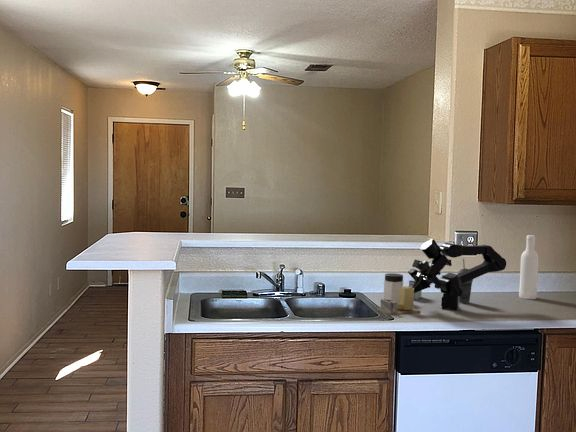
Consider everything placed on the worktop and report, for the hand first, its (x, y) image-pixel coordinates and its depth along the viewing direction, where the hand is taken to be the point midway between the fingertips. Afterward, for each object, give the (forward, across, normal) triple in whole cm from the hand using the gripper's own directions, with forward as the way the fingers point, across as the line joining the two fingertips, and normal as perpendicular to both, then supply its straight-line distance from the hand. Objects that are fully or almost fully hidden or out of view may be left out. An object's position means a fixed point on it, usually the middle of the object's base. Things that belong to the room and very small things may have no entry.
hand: (411, 292), depth 251 cm
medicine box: (-6, -23, +17) cm, 29 cm away
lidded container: (+4, -20, +8) cm, 22 cm away
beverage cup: (-18, -9, +29) cm, 35 cm away
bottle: (-45, -11, +55) cm, 72 cm away
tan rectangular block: (+8, 0, +1) cm, 8 cm away
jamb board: (+9, 0, +2) cm, 9 cm away
